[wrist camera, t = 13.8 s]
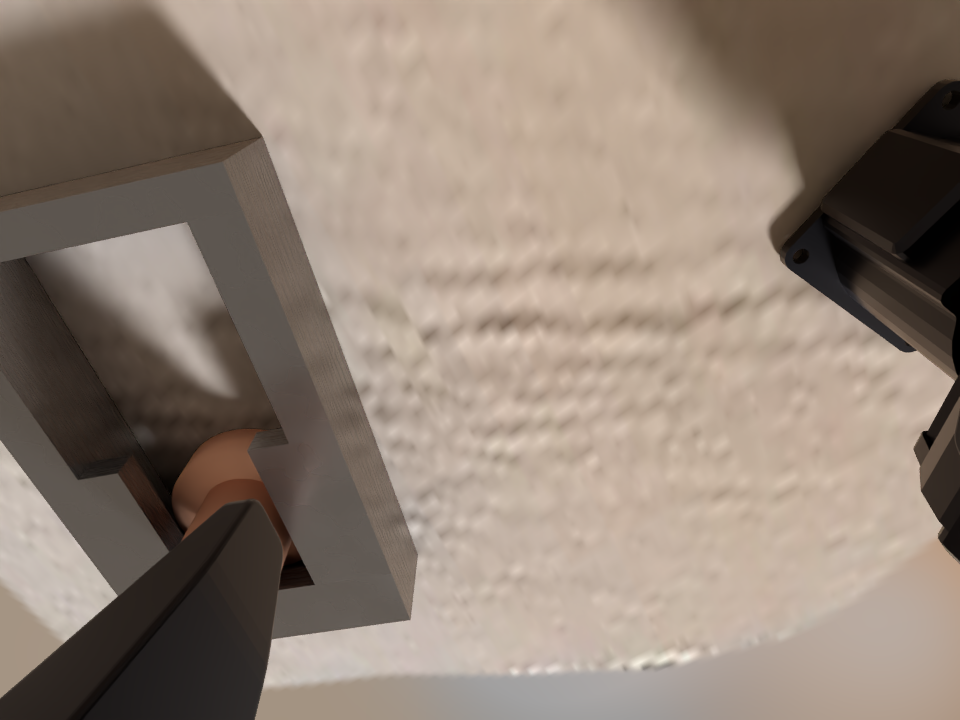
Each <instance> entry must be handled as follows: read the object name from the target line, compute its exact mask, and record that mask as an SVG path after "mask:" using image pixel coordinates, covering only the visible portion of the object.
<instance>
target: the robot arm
mask: <svg viewBox="0 0 960 720" xmlns="http://www.w3.org/2000/svg"><path fill="white" fill-rule="evenodd" d="M950 91H951V93H952V97H951V100H950V101H949V103H948V104H947V105H945V106H944V107H943V106H942V100H943V98H944V97H945V95H946V94H947V93H949V92H950ZM799 249H804V251H803V254H802V256H801V257H799V258H798V259H794V260H793V255H794V254H795V252H796V251H798V250H799ZM780 260H781V261H782V263H783V264H784V265H785V266H786V267H788V268H789V269H790V270H791V271H793V272H794V273H795V274H797V275H798V276H799V277H801V278H802V279H804V280H805V281H806V282H808V283H809V284H810V285H812V286H813V287H815V288H816V289H817V290H819V291H820V292H821V293H823V294H824V295H825V296H827V297H828V298H830V299H831V300H832V301H834V302H835V303H836V304H838V305H839V306H840V307H842V308H843V309H845V310H846V311H847V312H849V313H850V314H851V315H853V316H854V317H855V318H857V319H858V320H860V321H861V322H862V323H864V324H865V325H866V326H868V327H869V328H871V329H872V330H873V331H875V332H876V333H877V334H879V335H880V336H881V337H883V338H884V339H886V340H887V341H888V342H890V343H891V344H892V345H894V346H895V347H896V348H898V349H899V350H901V351H903V352H913V351H918V352H920V353H921V354H922V355H923V356H925V357H926V358H927V359H928V360H930V361H931V362H932V363H933V364H935V365H936V366H937V367H938V368H940V369H941V370H942V371H943V372H945V373H946V374H947V375H948V376H950V377H951V378H952V379H953V380H955V383H954V384H953V386H952V388H951V390H950V392H949V394H948V395H947V397H946V399H945V401H944V403H943V404H942V406H941V408H940V410H939V412H938V414H937V415H936V417H935V419H934V421H933V423H932V424H931V426H930V428H929V430H928V431H923V432H922V433H921V435H920V437H919V439H918V441H917V442H916V444H915V446H914V452H915V454H916V457H917V459H918V461H919V464H920V483H921V492H922V493H923V495H924V497H925V499H926V500H927V502H928V504H929V505H930V507H931V509H932V510H933V512H934V514H935V515H936V517H937V519H938V520H939V522H940V523H941V524H942V525H943V527H942V528H941V530H940V531H939V533H938V539H939V540H940V542H941V543H942V545H943V546H944V548H945V550H946V551H947V552H948V553H949V554H950V555H951V556H952V557H953V558H954V559H955V560H956V561H957V562H958V563H959V564H960V81H958V80H952V79H949V80H943V81H940V82H938V83H937V84H935V85H934V86H933V87H932V88H931V89H930V90H929V91H928V92H927V93H926V94H925V95H924V96H923V97H922V98H921V99H920V100H919V101H918V102H917V103H916V105H915V106H914V107H913V108H912V109H911V110H910V111H909V112H908V113H907V114H906V115H905V116H904V117H903V118H902V119H901V121H900V122H899V123H898V124H897V125H896V126H895V127H894V128H893V129H892V130H890V131H887V132H885V133H884V134H883V135H882V136H881V137H880V139H879V140H878V141H877V142H876V143H875V144H874V145H873V146H872V147H871V148H870V149H869V150H868V151H867V152H866V154H865V155H864V156H863V157H862V158H861V159H860V160H859V161H858V162H857V163H856V164H855V165H854V166H853V167H852V168H851V170H850V171H849V172H848V173H847V174H846V175H845V176H844V177H843V178H842V179H841V180H840V181H839V182H838V183H837V185H836V186H835V187H834V188H833V189H832V190H831V191H830V192H829V193H828V194H827V195H826V196H825V197H824V198H823V200H822V205H821V206H820V207H819V208H818V209H817V210H816V211H815V212H814V213H813V214H812V215H811V216H810V217H809V218H808V220H807V221H806V222H805V223H804V224H803V225H802V226H801V227H800V228H799V229H798V230H797V231H796V232H795V233H794V234H793V236H792V237H791V238H790V239H789V240H788V241H787V242H786V243H785V244H784V246H783V247H782V249H781V251H780ZM282 561H283V548H282V543H281V540H280V538H279V536H278V534H277V532H276V530H275V528H274V526H273V524H272V522H271V521H270V519H269V517H268V515H267V513H266V511H265V509H264V507H263V506H262V504H261V503H260V502H259V501H258V500H256V499H246V500H240V501H234V502H229V503H226V504H224V505H223V506H222V507H221V508H219V509H218V510H217V511H216V512H215V513H214V514H212V515H211V516H210V517H209V518H208V519H207V520H206V521H204V522H203V523H202V524H201V525H200V526H199V527H197V528H196V529H195V530H194V531H193V532H192V533H191V534H189V535H188V536H187V537H186V538H185V539H184V540H182V541H181V542H180V543H179V544H178V545H177V546H176V547H174V548H173V549H172V550H171V551H170V552H169V553H167V554H166V555H165V556H164V557H163V558H162V559H161V560H159V561H158V562H157V563H156V564H155V565H154V566H152V567H151V568H150V569H149V570H148V571H147V572H146V573H144V574H143V575H142V576H141V577H140V578H139V579H137V580H136V581H135V582H134V583H133V584H132V585H131V586H129V587H128V588H127V589H126V590H125V591H124V592H122V593H121V594H120V595H119V596H118V597H117V598H116V599H114V600H113V601H112V602H111V603H110V604H109V605H107V606H106V607H105V608H104V609H103V610H102V611H101V612H99V613H98V614H97V615H96V616H95V617H94V618H92V619H91V620H90V621H89V622H88V623H87V624H86V625H84V626H83V627H82V628H81V629H80V630H79V631H77V632H76V633H75V634H74V635H73V636H72V637H71V638H69V639H68V640H67V641H66V642H65V643H64V644H62V645H61V646H60V647H59V648H58V649H57V650H56V651H54V652H53V653H52V654H51V655H50V656H49V657H48V658H46V659H45V660H44V661H43V662H42V663H41V664H40V665H38V666H37V667H36V668H35V669H34V670H32V671H31V672H30V673H29V674H28V675H27V676H26V677H24V678H23V679H22V680H21V681H20V682H19V683H18V684H16V685H15V686H14V687H13V688H12V689H11V690H9V691H8V692H7V693H6V694H5V695H4V696H3V697H1V698H0V720H255V716H256V712H257V708H258V704H259V700H260V696H261V691H262V688H263V683H264V679H265V675H266V670H267V665H268V659H269V654H270V648H271V640H272V633H273V626H274V619H275V612H276V604H277V597H278V590H279V583H280V576H281V568H282Z"/></svg>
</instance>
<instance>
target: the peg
mask: <svg viewBox="0 0 960 720" xmlns="http://www.w3.org/2000/svg"><path fill="white" fill-rule="evenodd" d="M262 431H267V430H261V429H237V430H231V431H227V432H224V433H220V434H218V435H216V436H214V437H211V438H210V439H208V440H207V441H205V442H204V443H203V444H202V445H201V446H200V447H198V449H197V450H196V451H195V453H194V454H193V456H192V457H191V459H190V460H189V462H188V463H187V465H186V467H185V468H184V470H183V471H182V473H181V474H180V476H179V478H178V479H177V481H176V483H175V485H174V488H173V492H172V509H173V512H174V516H175V518H176V520H177V522H178V524H179V526H180V527H181V529H182V530H183V531H184V533H185V535H184V537H183V539H182V540H184V539H185V538H186V537H187V536H188V535H189V534H191V533H192V532H193V531H194V530H195V529H196V528H197V527H199V526H200V525H201V524H202V523H203V522H204V521H206V520H207V519H208V518H209V517H210V516H211V515H212V514H214V513H215V512H216V511H217V510H218V509H219V508H221V507H222V506H223V505H224V504H226V503H229V502H234V501H240V500H246V499H256V500H258V501H259V502H260V503H261V504H262V506H263V507H264V509H265V511H266V513H267V515H268V517H269V519H270V521H271V522H272V524H273V526H274V528H275V530H276V532H277V534H278V536H279V538H280V540H281V543H282V548H283V561H282V567H283V566H285V565H289V564H293V563H295V562H298V561H301V560H302V558H301V556H300V554H299V552H298V550H297V548H296V546H295V544H294V542H293V541H292V539H291V537H290V535H289V533H288V531H287V529H286V527H285V525H284V523H283V521H282V519H281V517H280V515H279V513H278V511H277V509H276V507H275V505H274V503H273V501H272V499H271V497H270V495H269V493H268V491H267V489H266V487H265V485H264V483H263V481H262V479H261V477H260V475H259V473H258V472H257V470H256V468H255V466H254V464H253V462H252V460H251V458H250V456H249V454H248V452H247V450H248V448H249V446H250V444H251V442H252V440H253V439H254V437H255V435H256V433H257V432H262ZM281 570H282V568H281Z"/></svg>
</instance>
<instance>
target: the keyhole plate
mask: <svg viewBox="0 0 960 720" xmlns="http://www.w3.org/2000/svg"><path fill="white" fill-rule="evenodd" d="M184 222H187V223H188V225H189V227H190V229H191V231H192V234H193V236H194V238H195V240H196V242H197V244H198V247H199V249H200V251H201V253H202V255H203V258H204V260H205V262H206V264H207V266H208V268H209V271H210V273H211V275H212V277H213V279H214V281H215V284H216V286H217V288H218V290H219V292H220V294H221V297H222V299H223V301H224V303H225V305H226V307H227V310H228V312H229V314H230V316H231V318H232V321H233V323H234V325H235V327H236V329H237V331H238V334H239V336H240V338H241V340H242V342H243V344H244V347H245V349H246V351H247V353H248V355H249V357H250V360H251V362H252V364H253V366H254V368H255V370H256V373H257V375H258V377H259V379H260V381H261V384H262V386H263V388H264V390H265V392H266V394H267V397H268V399H269V401H270V403H271V405H272V407H273V410H274V412H275V414H276V416H277V418H278V420H279V423H280V425H281V427H282V428H279V429H273V430H267V431H262V432H257V433H256V435H255V437H254V439H253V440H252V442H251V444H250V446H249V448H248V450H247V452H248V454H249V456H250V458H251V460H252V462H253V464H254V466H255V468H256V470H257V472H258V473H259V475H260V477H261V479H262V481H263V483H264V485H265V487H266V489H267V491H268V493H269V495H270V497H271V499H272V501H273V503H274V505H275V507H276V509H277V511H278V513H279V515H280V517H281V519H282V521H283V523H284V525H285V527H286V529H287V531H288V533H289V535H290V537H291V539H292V541H293V542H294V544H295V546H296V548H297V550H298V552H299V554H300V556H301V558H302V560H301V561H298V562H295V563H293V564H289V565H285V566H283V567H282V570H281V576H280V583H279V590H278V597H277V604H276V612H275V619H274V626H273V633H272V639H276V638H283V637H290V636H298V635H305V634H312V633H319V632H326V631H334V630H341V629H348V628H355V627H362V626H370V625H377V624H384V623H391V622H398V621H406V620H410V619H411V610H412V602H413V593H414V584H415V575H416V566H417V557H418V554H417V551H416V549H415V546H414V543H413V541H412V538H411V535H410V533H409V530H408V527H407V525H406V522H405V519H404V516H403V514H402V511H401V508H400V506H399V503H398V500H397V498H396V495H395V492H394V489H393V487H392V484H391V481H390V479H389V476H388V473H387V471H386V468H385V465H384V463H383V460H382V457H381V454H380V452H379V449H378V446H377V444H376V441H375V438H374V436H373V433H372V430H371V427H370V425H369V422H368V419H367V417H366V414H365V411H364V409H363V406H362V403H361V400H360V398H359V395H358V392H357V390H356V387H355V384H354V382H353V379H352V376H351V374H350V371H349V368H348V365H347V363H346V360H345V357H344V355H343V352H342V349H341V347H340V344H339V341H338V338H337V336H336V333H335V330H334V328H333V325H332V322H331V320H330V317H329V314H328V312H327V309H326V306H325V303H324V301H323V298H322V295H321V293H320V290H319V287H318V285H317V282H316V279H315V276H314V274H313V271H312V268H311V266H310V263H309V260H308V258H307V255H306V252H305V250H304V247H303V244H302V241H301V239H300V236H299V233H298V231H297V228H296V225H295V223H294V220H293V217H292V214H291V212H290V209H289V206H288V204H287V201H286V198H285V196H284V193H283V190H282V187H281V185H280V182H279V179H278V177H277V174H276V171H275V169H274V166H273V163H272V161H271V158H270V155H269V152H268V150H267V147H266V144H265V142H264V139H263V137H259V138H255V139H251V140H246V141H242V142H238V143H233V144H229V145H225V146H220V147H216V148H211V149H207V150H203V151H198V152H194V153H190V154H185V155H181V156H177V157H172V158H168V159H163V160H159V161H155V162H150V163H146V164H142V165H137V166H133V167H129V168H124V169H120V170H115V171H111V172H107V173H102V174H98V175H94V176H89V177H85V178H81V179H76V180H72V181H67V182H63V183H59V184H54V185H50V186H46V187H41V188H37V189H33V190H28V191H24V192H19V193H15V194H11V195H6V196H2V197H0V440H1V441H2V443H3V444H4V445H5V447H6V448H7V449H8V451H9V452H10V453H11V455H12V456H13V457H14V459H15V460H16V461H17V463H18V464H19V465H20V467H21V468H22V469H23V471H24V472H25V473H26V475H27V476H28V477H29V479H30V480H31V481H32V483H33V484H34V485H35V486H36V488H37V489H38V490H39V492H40V493H41V494H42V496H43V497H44V498H45V500H46V501H47V502H48V504H49V505H50V506H51V508H52V509H53V510H54V512H55V513H56V514H57V516H58V517H59V518H60V520H61V521H62V522H63V524H64V525H65V526H66V528H67V529H68V530H69V532H70V533H71V534H72V536H73V537H74V538H75V540H76V541H77V542H78V544H79V545H80V546H81V548H82V549H83V550H84V552H85V553H86V554H87V556H88V557H89V558H90V559H91V561H92V562H93V563H94V565H95V566H96V567H97V569H98V570H99V571H100V573H101V574H102V575H103V577H104V578H105V579H106V581H107V582H108V583H109V585H110V586H111V587H112V589H113V590H114V591H115V593H116V594H117V595H118V596H119V595H120V594H121V593H122V592H124V591H125V590H126V589H127V588H128V587H129V586H131V585H132V584H133V583H134V582H135V581H136V580H137V579H139V578H140V577H141V576H142V575H143V574H144V573H146V572H147V571H148V570H149V569H150V568H151V567H152V566H154V565H155V564H156V563H157V562H158V561H159V560H161V559H162V558H163V557H164V556H165V555H166V554H167V553H169V552H170V551H171V550H172V549H173V548H174V547H176V546H177V545H178V544H179V543H180V542H181V541H182V539H183V537H184V535H185V533H184V531H183V530H182V529H181V527H180V526H179V524H178V522H177V520H176V518H175V516H174V512H173V509H172V497H171V496H170V494H169V493H168V491H167V489H166V488H165V486H164V484H163V483H162V481H161V480H160V478H159V476H158V475H157V473H156V471H155V470H154V468H153V467H152V465H151V463H150V462H149V460H148V458H147V457H146V455H145V454H144V452H143V450H142V449H141V447H140V445H139V444H138V442H137V441H136V439H135V437H134V436H133V434H132V432H131V431H130V429H129V427H128V426H127V424H126V423H125V421H124V419H123V418H122V416H121V414H120V413H119V411H118V410H117V408H116V406H115V405H114V403H113V401H112V400H111V398H110V397H109V395H108V393H107V392H106V390H105V388H104V387H103V385H102V384H101V382H100V380H99V379H98V377H97V375H96V374H95V372H94V371H93V369H92V367H91V366H90V364H89V362H88V361H87V359H86V358H85V356H84V354H83V353H82V351H81V349H80V348H79V346H78V345H77V343H76V341H75V340H74V338H73V336H72V335H71V333H70V332H69V330H68V328H67V327H66V325H65V323H64V322H63V320H62V319H61V317H60V315H59V314H58V312H57V310H56V309H55V307H54V306H53V304H52V302H51V301H50V299H49V297H48V296H47V294H46V292H45V291H44V289H43V288H42V286H41V284H40V283H39V281H38V279H37V278H36V276H35V275H34V273H33V271H32V270H31V268H30V266H29V265H28V263H27V262H26V260H25V258H24V257H27V256H32V255H37V254H41V253H46V252H50V251H55V250H60V249H64V248H69V247H73V246H78V245H83V244H87V243H92V242H96V241H101V240H106V239H110V238H115V237H120V236H124V235H129V234H133V233H138V232H143V231H147V230H152V229H156V228H161V227H166V226H170V225H175V224H179V223H184Z"/></svg>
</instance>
